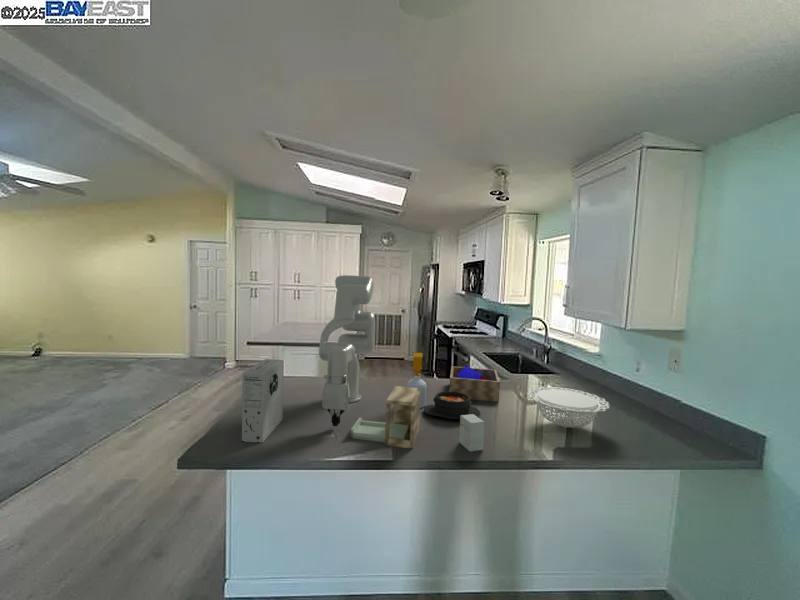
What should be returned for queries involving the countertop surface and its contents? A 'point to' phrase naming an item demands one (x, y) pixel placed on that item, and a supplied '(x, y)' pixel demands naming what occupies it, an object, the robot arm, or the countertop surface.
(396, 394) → the shelf
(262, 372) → the cereal box
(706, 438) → the countertop surface
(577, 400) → the colander
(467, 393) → the open wooden box
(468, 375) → the house
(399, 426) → the tray
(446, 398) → the casserole
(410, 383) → the soap bottle
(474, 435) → the small box
